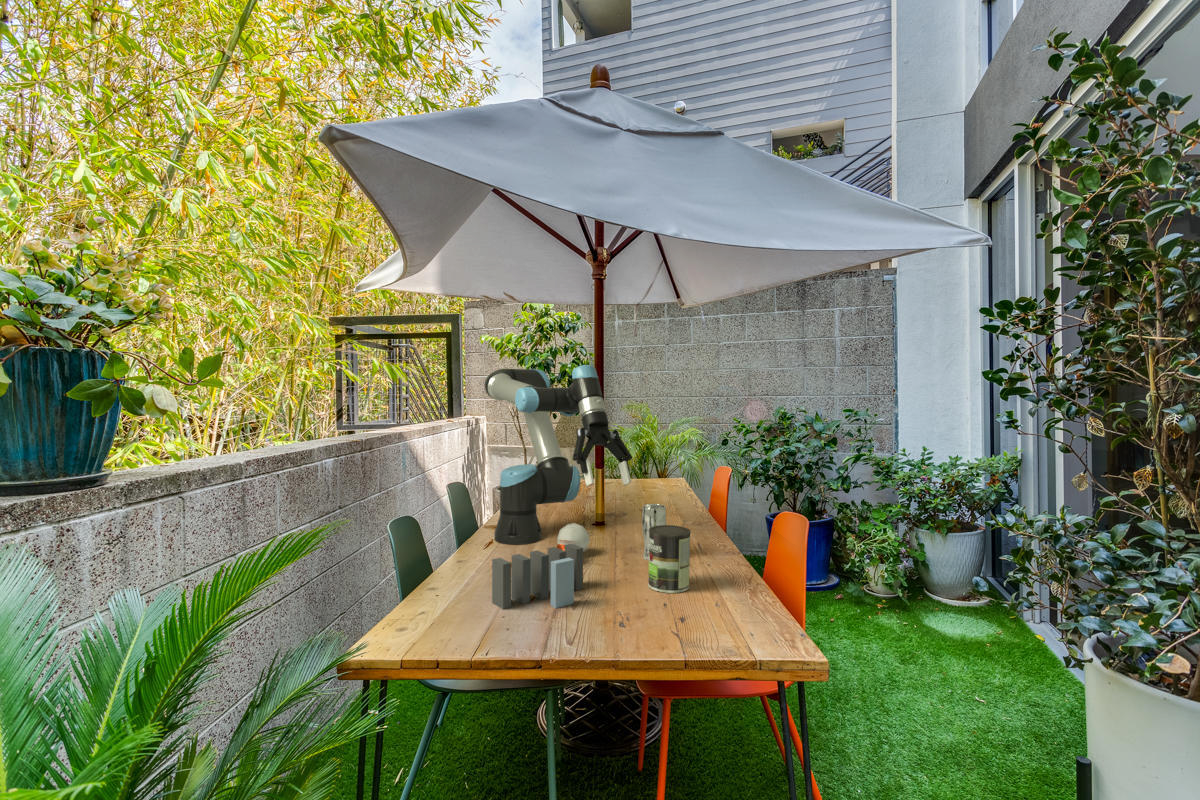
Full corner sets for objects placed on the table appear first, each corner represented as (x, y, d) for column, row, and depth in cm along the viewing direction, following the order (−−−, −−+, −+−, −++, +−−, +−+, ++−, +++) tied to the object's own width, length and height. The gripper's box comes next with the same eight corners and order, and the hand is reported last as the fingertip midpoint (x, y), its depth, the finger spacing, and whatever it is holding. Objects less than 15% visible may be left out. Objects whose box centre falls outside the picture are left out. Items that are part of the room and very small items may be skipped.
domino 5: (550, 605, 133) (550, 561, 133) (568, 600, 136) (568, 557, 136) (555, 608, 131) (555, 563, 131) (573, 603, 134) (574, 559, 134)
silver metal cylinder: (665, 554, 174) (666, 504, 174) (665, 561, 167) (666, 508, 167) (641, 554, 175) (642, 503, 174) (641, 560, 168) (641, 508, 167)
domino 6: (576, 590, 143) (576, 549, 143) (564, 585, 147) (564, 545, 147) (582, 588, 144) (583, 548, 144) (570, 583, 148) (571, 543, 148)
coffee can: (659, 595, 140) (659, 536, 140) (641, 582, 150) (641, 526, 149) (697, 590, 143) (698, 533, 143) (677, 577, 153) (678, 523, 153)
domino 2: (522, 604, 134) (523, 560, 133) (511, 598, 138) (511, 555, 137) (530, 602, 135) (530, 558, 135) (518, 596, 139) (519, 553, 139)
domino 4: (559, 595, 140) (559, 552, 140) (547, 589, 144) (547, 548, 144) (566, 593, 141) (566, 551, 141) (554, 587, 145) (554, 546, 145)
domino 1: (503, 609, 130) (503, 564, 130) (492, 603, 134) (492, 559, 134) (511, 607, 132) (511, 562, 132) (499, 601, 136) (500, 557, 135)
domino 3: (541, 599, 137) (541, 556, 137) (529, 593, 141) (530, 551, 140) (548, 597, 138) (548, 555, 138) (536, 591, 142) (537, 550, 142)
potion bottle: (581, 555, 178) (570, 576, 163) (555, 535, 179) (541, 555, 164) (598, 532, 176) (588, 551, 161) (572, 512, 177) (560, 530, 162)
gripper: (566, 406, 164) (581, 480, 156) (633, 412, 180) (650, 479, 172) (551, 417, 169) (565, 489, 161) (617, 422, 185) (633, 487, 177)
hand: (609, 484), depth 166 cm, fingers open, 13 cm apart
